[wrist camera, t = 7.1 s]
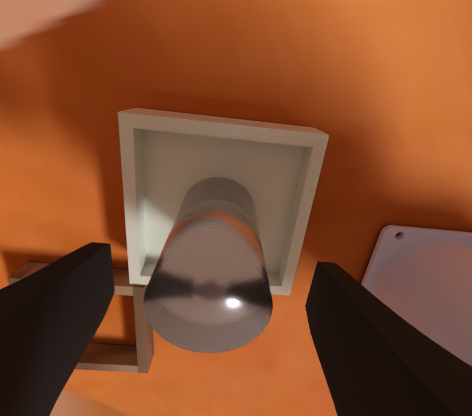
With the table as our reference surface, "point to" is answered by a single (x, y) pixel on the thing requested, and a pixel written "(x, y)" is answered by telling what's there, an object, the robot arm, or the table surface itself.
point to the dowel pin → (211, 272)
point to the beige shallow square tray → (217, 165)
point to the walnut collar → (110, 354)
